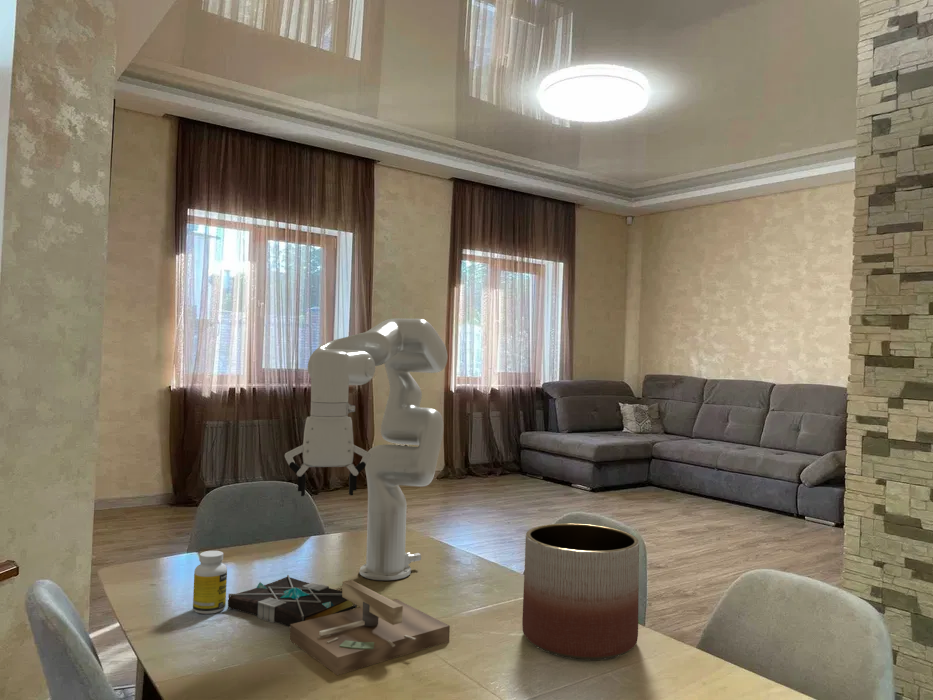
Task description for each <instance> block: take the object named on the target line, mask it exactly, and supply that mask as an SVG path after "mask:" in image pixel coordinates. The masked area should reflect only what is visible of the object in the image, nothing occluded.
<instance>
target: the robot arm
mask: <svg viewBox="0 0 933 700" xmlns="http://www.w3.org/2000/svg"><path fill="white" fill-rule="evenodd" d="M448 357H449V356H448V351H447V346H446V344H445V342H444V341H443V339H442V337H441V336H440V335H439V333H438V331H437V330H436V329H435V328H434V326H433V325H432V324H431V323H430V322H429V321H427V320H425V319H424V318H397V317H396V318H388V319H386V320H383V321H381V322H380V323H378V324H376V325H375V326H373V327H371V328H370V329H368V330H367V331H364V332H361V333H356V334H353V335H349V336H345V337H340V338H337V339H334V340H331V341H328V342H326V343H323V345H320V346H319V347H317V348H316V349H315V350H314V351H313V352H312V353H311V355H310V356H309V359H308V362H307V372H308V374H309V377H310V379H311V380H310V381H311V383H310V384H311V387H310V416H307V417H306V420H305V425H304V431H303V441H302V442H303V443H302V444H301V445H299V446H297V447H295V448H293V449H291V450H289V451H287V452H285V453H284V458H285V461H286V463H287V464H288V466H289V469H291V470H292V471H293V472H294V473H295V474H296V476H297V492H300V493H301V494H300V496H301V497H304V496H306V474H305V473H306V471H308V469H309V468H327V467H328V468H334V467H335V468H342V467H343V468H344V467H346V469H348V470H349V473H350V474H348V475H349V477H348V494H349V496H354V491H357V483H358V477H357V476H359V474H360V473H361V472H362V471H363V470H365V475H366V477H365V478H366V485H367V525H366V526H367V527H366V555H365V557H366V561H365V563H364V564H363V565H361V566H360V568H359V575H360V576H361V577H363V578H365V579H368V580H374V581H396V580H401V579H405V578H407V577H409V575H411V573H412V567H411V566H410V565H409V564H411V563H412V562H414V563H415V562H419V561H421V560H422V555H421V553H420V552H416V553H415V552H414V553H412V554H411V552H409V551H408V552H406V535H407V533H406V532H407V529H406V528H407V527H406V526H407V500H406V496H405V494H404V492H403V491H402V488H401V487H400V486H409V487H426V486H428V485H430V484H431V483H432V481H433V479H434V476H435V474H436V470H437V465H438V459H439V455H440V451H441V446H442V442H443V441H442V440H443V435H444V419H443V416H442V414H441V412H440V411H438V410H437V409H435V408H431V407H421V402H422V398H423V397H422V396H423V393H422V389H421V387H420V386H419V384H418V382H417V381H416V379H414V377H413V376H412V374H411V373H424V374H425V373H429V374H430V373H431V374H432V373H433V374H435V373H440V372H441V371H443V370H444V369H445V368H446V366H447V364H448ZM381 365H384V369H385V372H386V376H387V379H388V383H389V393H388V396H387V397H388V398H387V401H386V405H385V410H384V412H383V417H382V420H381V424H380V425H381V426H380V435H381V437H382V439H383V440H384V441H386V442H388V443H393V444H378V445H375V446H373V447H371V448H370V449H369V450H368V451H367V450H366V449H363V448H362V447H359V446H357V445H355V444H354V430H353V429H354V427H353V420H352V417H351V416H349V414H350V413H355V412H356V405H352V404H350V403H349V391H350V390H349V386H362V385H365V384H367V383H369V382H370V381H372V379H373V377H374V375H375V372H376V367H379V366H381ZM409 445H410V446H409ZM413 445H414V446H413ZM301 453H302V462H303V463H302V464H301V465H300V466H299V465H298V464H297V463H296V462H295V460H294V457H295V456H298V455H300V454H301ZM354 454H357V455H358V456H360V457H362V458H361V461H359V463H358V464H356V466H355V464H354V463H353V462H354Z"/></svg>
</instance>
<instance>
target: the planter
mask: <svg viewBox="0 0 933 700" xmlns="http://www.w3.org/2000/svg"><path fill="white" fill-rule="evenodd" d="M524 544H525V546H524V576H523V595H522V597H523V599H522V600H523V601H522V626H521V627H522V633H523V635H524V637H525V638H526V639H527V641H529V642H530V643H531V644H533V645H534V646H535V647H537V648H538V649H540V650H542V651H544V652H546V653H548V654H551V655H554V656H557V657H561V658H565V659H566V658H567V659H571V660H577V661H578V660H581V661H597V660H598V661H601V660H608V659H613V658H617V657H620V656H621V655H624V654H626V653H628V652H630V651H631V650H632V649H634V648H635V647H636V646H637V642H638V637H639V592H640V591H639V588H640V587H639V577H640V575H639V574H640V573H639V572H640V569H639V568H640V540H639V539H638V537H637V536H635V535H633V534H631V533H630V532H626V531H625V530H621V529H617V528H613V527H610V526H603V525H597V524H587V523H574V522H573V523H571V522H570V523H550V524H543V525H538V526H535V527H532V528H530V529H529V530H527V531H526V532H525V543H524Z"/></svg>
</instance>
